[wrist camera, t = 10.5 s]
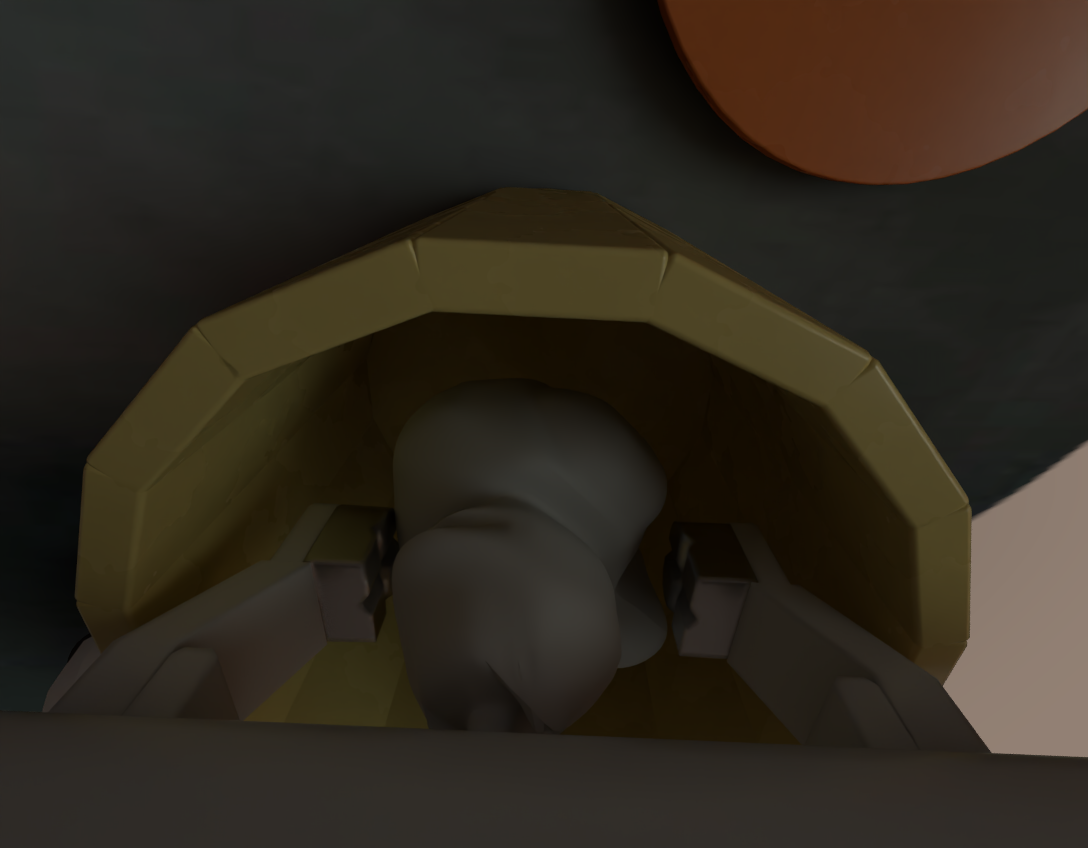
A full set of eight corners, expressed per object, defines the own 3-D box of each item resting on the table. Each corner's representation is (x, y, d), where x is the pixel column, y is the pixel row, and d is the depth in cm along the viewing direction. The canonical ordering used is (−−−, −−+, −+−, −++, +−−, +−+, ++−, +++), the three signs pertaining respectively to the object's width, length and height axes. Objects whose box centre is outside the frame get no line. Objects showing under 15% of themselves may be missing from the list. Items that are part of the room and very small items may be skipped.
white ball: (177, 515, 19) (-16, 698, 13) (355, 604, 21) (267, 802, 15) (102, 660, 23) (-76, 858, 16) (260, 724, 25) (156, 924, 18)
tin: (327, 176, 14) (-129, 209, 5) (768, 199, 14) (1195, 277, 5) (373, 529, 19) (207, 871, 10) (690, 544, 20) (818, 896, 10)
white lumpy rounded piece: (528, 285, 10) (476, 558, 3) (714, 485, 13) (923, 910, 6) (362, 443, 12) (96, 841, 5) (551, 595, 14) (550, 1024, 7)
